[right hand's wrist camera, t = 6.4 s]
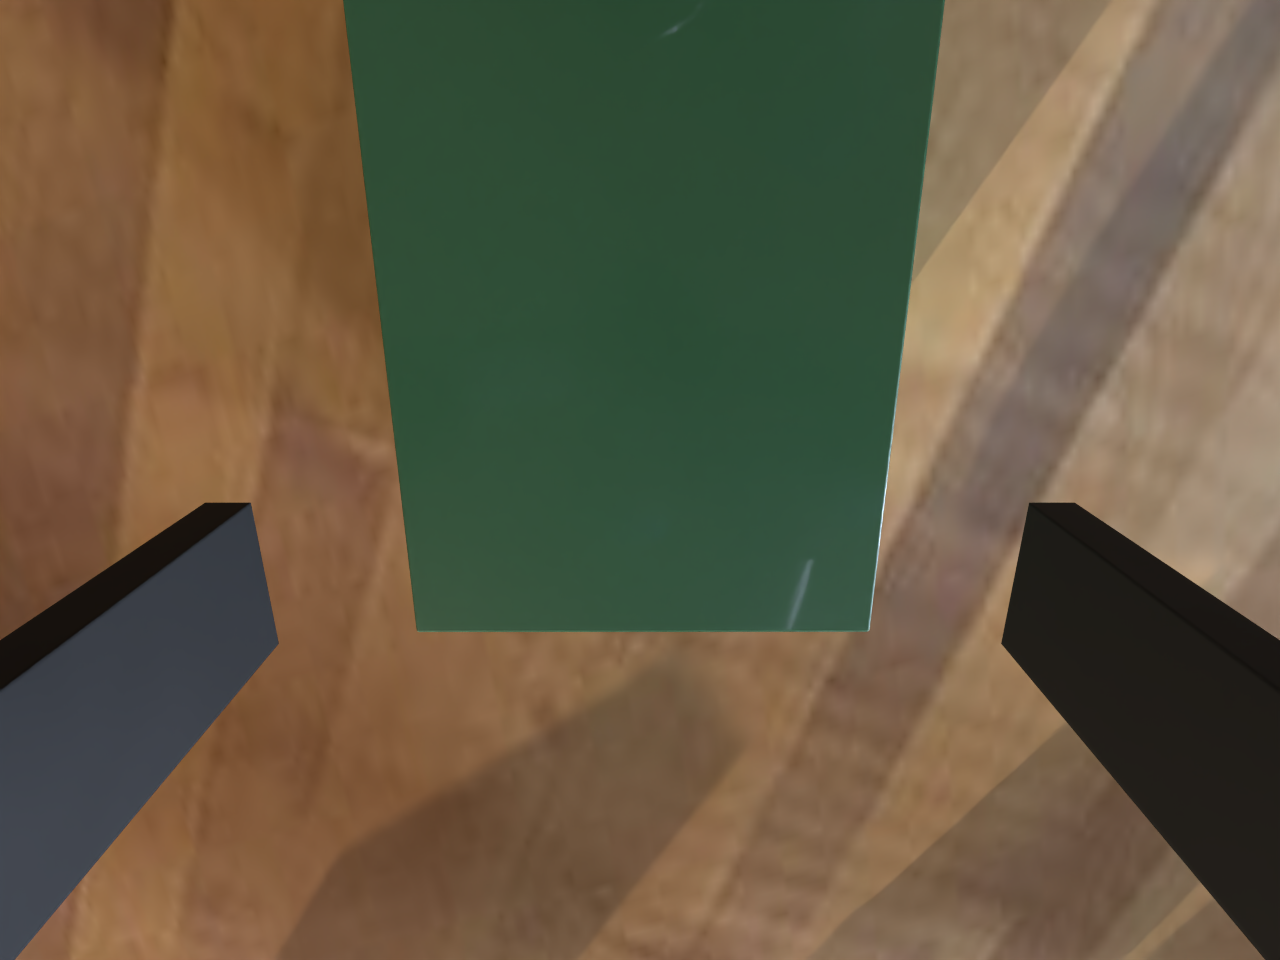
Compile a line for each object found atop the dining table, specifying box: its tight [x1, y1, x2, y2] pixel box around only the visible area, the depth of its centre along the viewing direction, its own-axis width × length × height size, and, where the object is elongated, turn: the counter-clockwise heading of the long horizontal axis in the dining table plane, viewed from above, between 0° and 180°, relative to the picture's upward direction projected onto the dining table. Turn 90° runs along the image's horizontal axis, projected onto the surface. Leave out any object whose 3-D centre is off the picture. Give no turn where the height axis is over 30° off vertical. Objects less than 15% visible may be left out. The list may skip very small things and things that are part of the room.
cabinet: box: [343, 0, 945, 632], centre depth 20 cm, size 17×11×12 cm, turn 0°
